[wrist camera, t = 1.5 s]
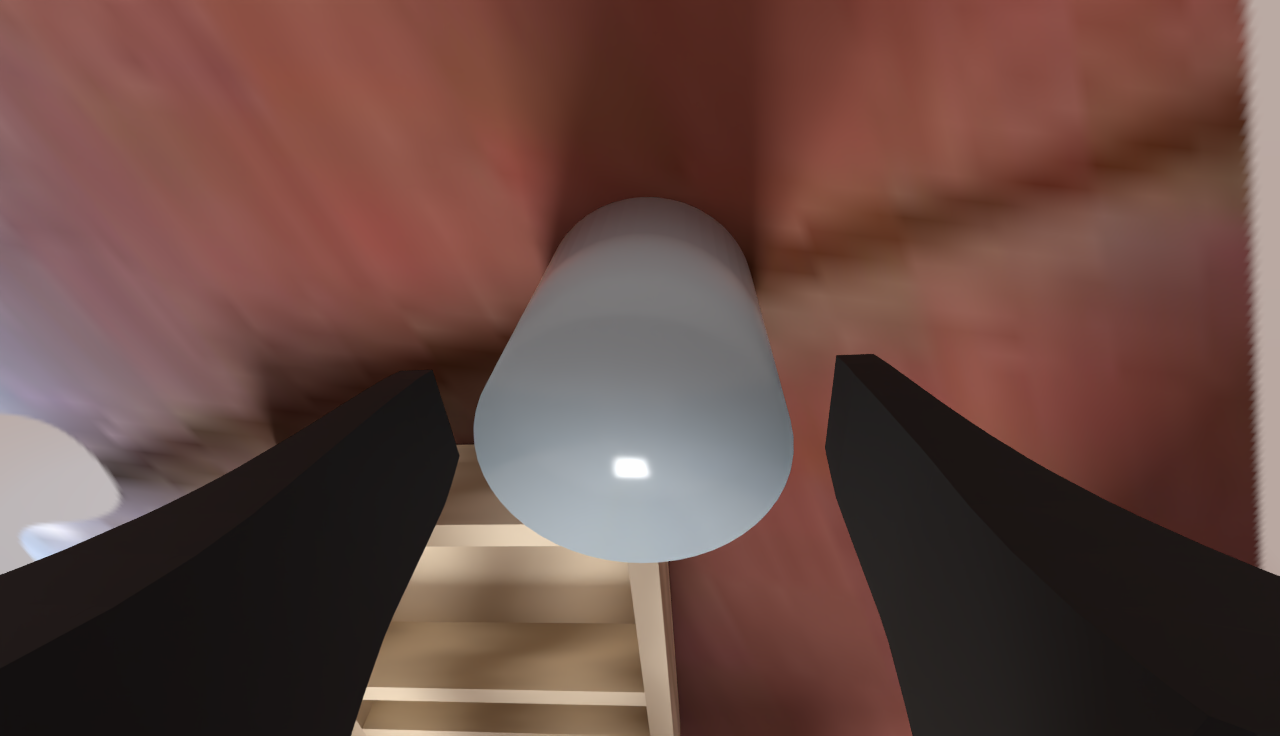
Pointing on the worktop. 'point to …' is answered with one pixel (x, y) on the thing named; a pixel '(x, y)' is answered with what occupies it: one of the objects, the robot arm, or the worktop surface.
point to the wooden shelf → (521, 635)
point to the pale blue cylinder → (638, 392)
